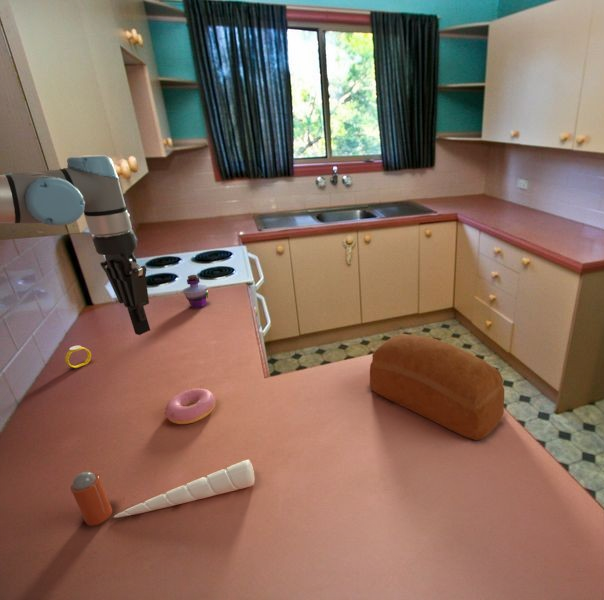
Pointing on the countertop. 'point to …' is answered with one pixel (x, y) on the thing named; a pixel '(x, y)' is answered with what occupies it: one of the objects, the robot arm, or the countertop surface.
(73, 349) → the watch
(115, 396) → the countertop surface
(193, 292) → the potion bottle
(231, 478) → the unicorn horn
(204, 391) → the doughnut
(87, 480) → the salt shaker
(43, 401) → the countertop surface
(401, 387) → the bread
